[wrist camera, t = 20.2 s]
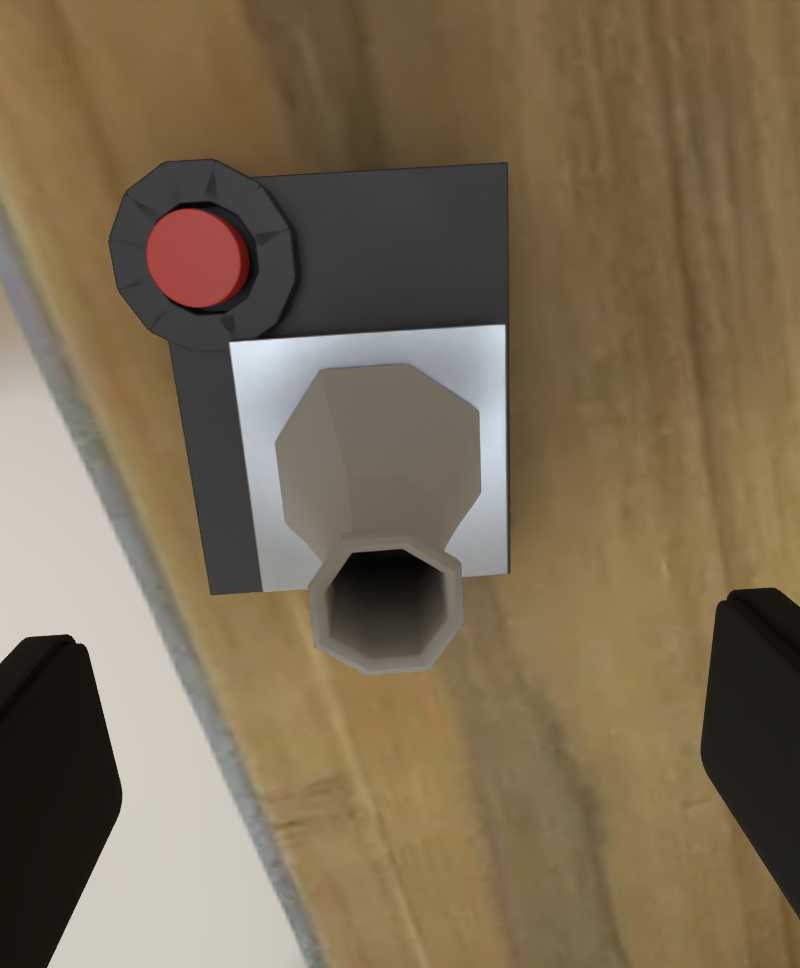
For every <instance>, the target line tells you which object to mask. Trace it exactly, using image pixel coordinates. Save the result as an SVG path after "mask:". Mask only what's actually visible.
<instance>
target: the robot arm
mask: <svg viewBox="0 0 800 968" xmlns="http://www.w3.org/2000/svg"><path fill="white" fill-rule="evenodd" d="M701 758H702V762H703V766H704V769H705V771H706V773H707V775H708V777H709V778H710V780H711V781H712V783H713V785H714V786H715V788H716V789H717V791H718V792H719V794H720V795H721V797H722V799H723V800H724V802H725V803H726V805H727V806H728V808H729V810H730V811H731V813H732V814H733V816H734V817H735V819H736V820H737V822H738V824H739V825H740V827H741V828H742V830H743V831H744V833H745V835H746V836H747V838H748V839H749V841H750V842H751V844H752V845H753V847H754V849H755V850H756V852H757V853H758V855H759V856H760V858H761V860H762V861H763V863H764V864H765V866H766V867H767V869H768V870H769V872H770V874H771V875H772V877H773V878H774V880H775V881H776V883H777V885H778V886H779V888H780V889H781V891H782V892H783V894H784V895H785V897H786V899H787V900H788V902H789V903H790V905H791V906H792V908H793V910H794V911H795V913H796V914H797V916H798V917H799V919H800V607H799V606H798V605H797V604H795V603H794V602H793V601H792V600H791V599H789V598H788V597H787V596H786V595H784V594H783V593H782V592H781V591H779V590H778V589H776V588H757V589H742V590H733V591H732V592H730V594H729V595H728V597H727V600H724V601H721V602H719V604H718V605H717V609H716V615H715V624H714V633H713V642H712V650H711V659H710V668H709V677H708V686H707V695H706V704H705V712H704V721H703V730H702V739H701ZM121 804H122V787H121V782H120V778H119V775H118V770H117V766H116V762H115V759H114V755H113V751H112V746H111V742H110V738H109V734H108V730H107V726H106V722H105V718H104V714H103V710H102V706H101V702H100V698H99V694H98V690H97V685H96V682H95V677H94V673H93V670H92V665H91V661H90V658H89V653H88V651H87V648H86V647H85V645H83V644H81V643H80V644H76V642H75V640H74V639H73V637H72V636H70V635H68V634H66V635H51V636H36V637H27V638H25V639H24V640H22V641H21V642H20V643H19V644H18V645H17V646H16V647H15V648H14V650H13V651H12V652H11V653H10V654H9V655H8V656H7V657H6V658H5V659H4V660H3V661H2V662H1V663H0V968H47V966H48V964H49V962H50V960H51V958H52V956H53V954H54V952H55V950H56V947H57V945H58V943H59V941H60V939H61V937H62V935H63V933H64V930H65V928H66V926H67V924H68V922H69V920H70V918H71V916H72V913H73V911H74V909H75V907H76V905H77V903H78V900H79V898H80V896H81V894H82V892H83V890H84V888H85V886H86V884H87V882H88V879H89V877H90V875H91V873H92V871H93V869H94V867H95V865H96V862H97V860H98V858H99V856H100V854H101V852H102V850H103V848H104V845H105V843H106V841H107V839H108V837H109V835H110V833H111V831H112V828H113V826H114V824H115V822H116V820H117V818H118V815H119V813H120V808H121Z"/></svg>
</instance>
